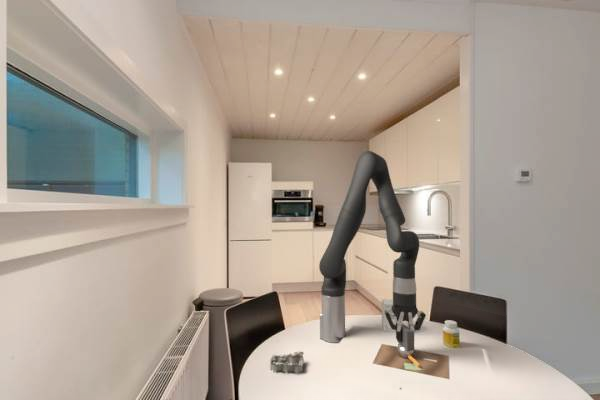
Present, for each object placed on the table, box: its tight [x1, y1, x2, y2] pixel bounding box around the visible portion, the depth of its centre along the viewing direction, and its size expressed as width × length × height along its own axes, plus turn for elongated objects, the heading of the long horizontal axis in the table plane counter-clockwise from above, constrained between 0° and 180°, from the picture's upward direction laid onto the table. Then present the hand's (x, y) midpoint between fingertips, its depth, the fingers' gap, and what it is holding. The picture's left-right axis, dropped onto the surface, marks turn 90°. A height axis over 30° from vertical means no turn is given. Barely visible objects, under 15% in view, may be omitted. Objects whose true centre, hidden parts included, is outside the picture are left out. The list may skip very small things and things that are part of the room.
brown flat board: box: [372, 343, 450, 380], centre depth 100 cm, size 22×16×2 cm
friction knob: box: [397, 323, 420, 367], centre depth 100 cm, size 12×5×9 cm, turn 8°
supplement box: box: [381, 298, 396, 333], centre depth 127 cm, size 7×7×13 cm
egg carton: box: [269, 351, 305, 374], centre depth 98 cm, size 11×8×4 cm
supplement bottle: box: [442, 319, 461, 349], centre depth 111 cm, size 5×5×10 cm
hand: (404, 341), depth 103 cm, fingers closed on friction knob, 3 cm apart
